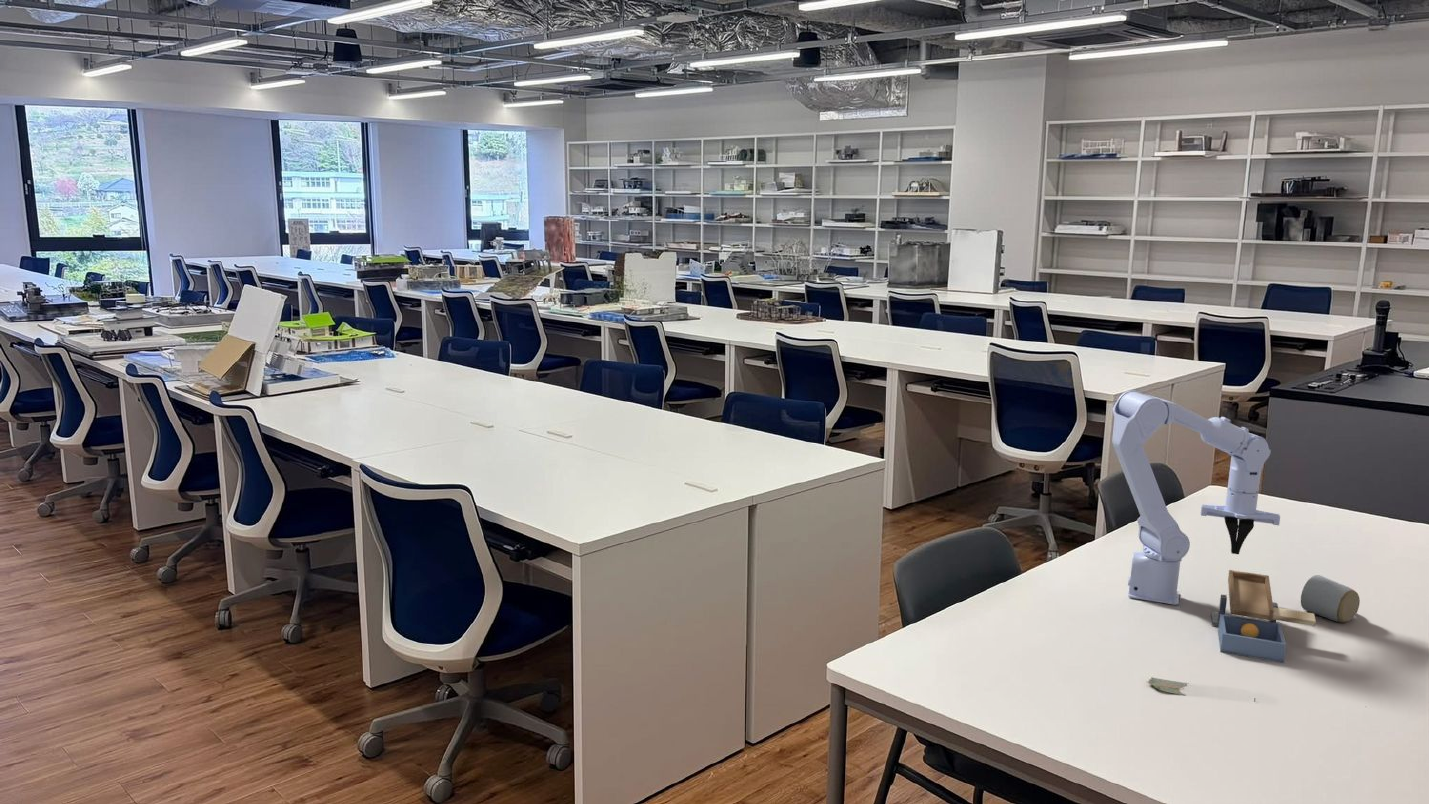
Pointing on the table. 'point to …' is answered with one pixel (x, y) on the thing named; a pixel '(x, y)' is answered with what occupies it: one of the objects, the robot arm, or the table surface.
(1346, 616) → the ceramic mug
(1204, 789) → the table surface
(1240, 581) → the tilt ramp
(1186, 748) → the table surface
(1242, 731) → the table surface
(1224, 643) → the bin
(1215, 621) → the pivot stand
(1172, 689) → the map
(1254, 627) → the orange ball
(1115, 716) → the table surface
